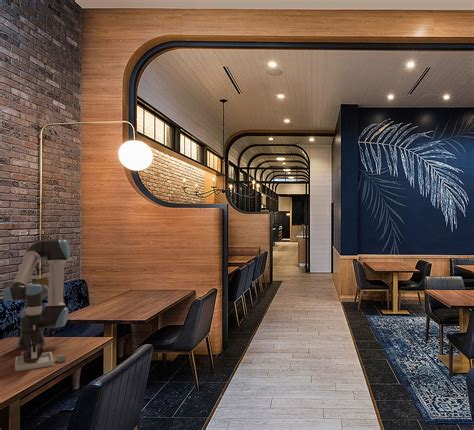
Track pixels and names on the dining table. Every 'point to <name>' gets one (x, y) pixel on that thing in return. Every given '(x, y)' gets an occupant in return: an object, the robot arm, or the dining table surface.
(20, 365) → the dish
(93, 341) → the dining table surface
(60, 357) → the squat grey cube
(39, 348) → the rock
